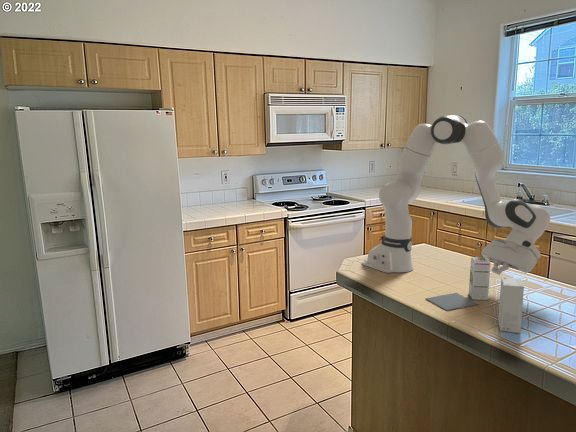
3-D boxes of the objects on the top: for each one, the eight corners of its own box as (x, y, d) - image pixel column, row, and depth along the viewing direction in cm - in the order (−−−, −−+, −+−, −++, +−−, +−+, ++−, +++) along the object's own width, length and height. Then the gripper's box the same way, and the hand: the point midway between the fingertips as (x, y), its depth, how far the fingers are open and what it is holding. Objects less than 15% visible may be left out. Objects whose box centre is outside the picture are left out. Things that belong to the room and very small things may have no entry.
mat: (425, 299, 158) (425, 298, 157) (456, 293, 163) (456, 292, 163) (446, 311, 148) (446, 309, 147) (478, 304, 153) (478, 303, 153)
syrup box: (488, 300, 156) (491, 261, 153) (470, 299, 157) (474, 261, 154) (484, 294, 162) (487, 257, 159) (467, 293, 163) (470, 256, 160)
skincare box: (520, 334, 131) (526, 287, 128) (498, 331, 133) (503, 285, 130) (517, 322, 139) (522, 278, 136) (496, 319, 141) (500, 276, 138)
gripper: (491, 232, 170) (469, 259, 169) (537, 246, 152) (514, 276, 150) (498, 242, 173) (477, 269, 171) (545, 256, 154) (522, 286, 153)
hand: (495, 272), depth 161 cm, fingers closed
